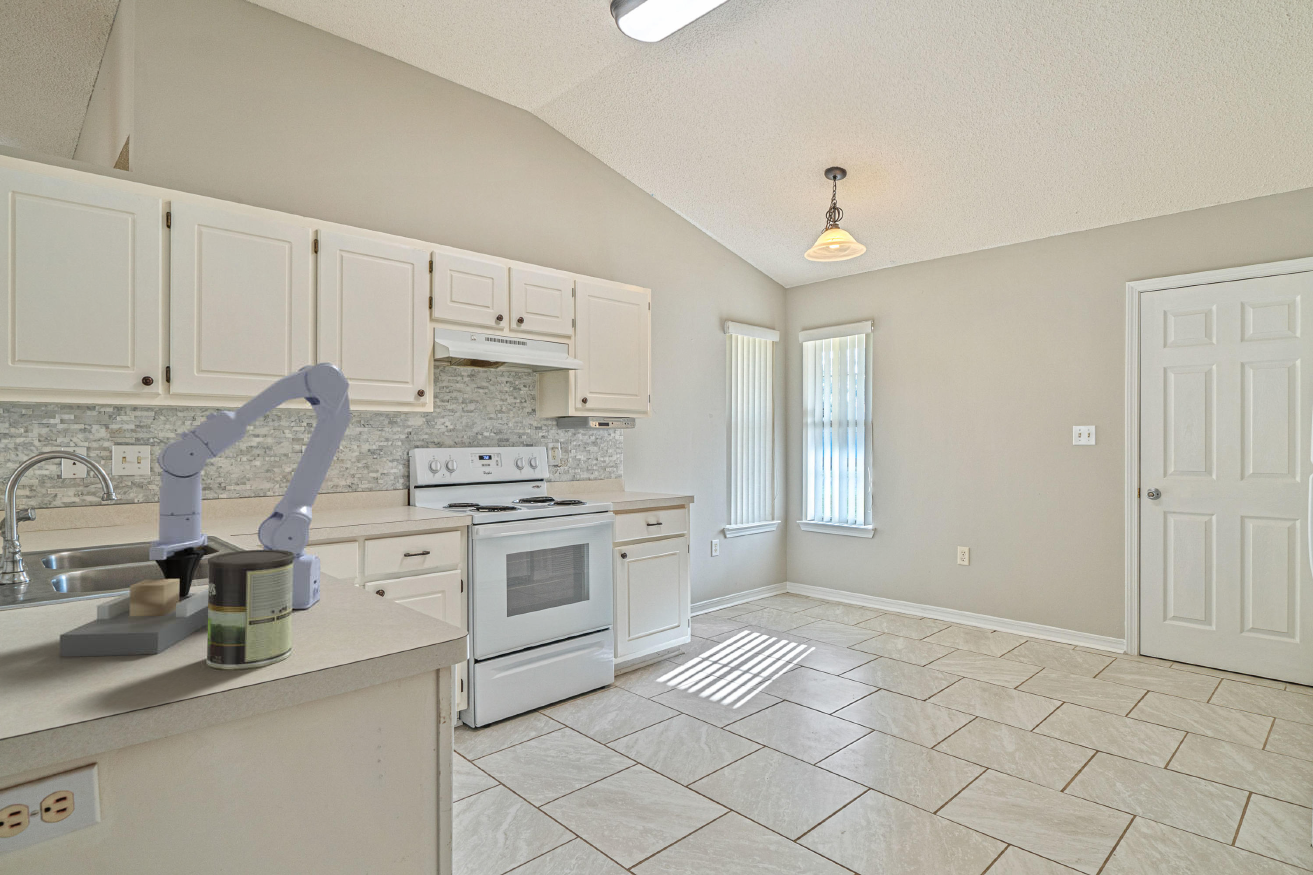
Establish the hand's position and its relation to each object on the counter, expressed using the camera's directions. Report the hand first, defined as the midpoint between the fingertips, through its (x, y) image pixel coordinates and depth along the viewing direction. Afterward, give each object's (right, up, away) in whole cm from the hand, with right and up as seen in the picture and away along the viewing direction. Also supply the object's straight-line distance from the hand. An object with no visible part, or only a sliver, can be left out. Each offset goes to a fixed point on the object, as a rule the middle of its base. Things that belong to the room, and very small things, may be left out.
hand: (179, 596), depth 114 cm
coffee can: (+22, -5, -18) cm, 29 cm away
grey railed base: (+1, -4, -7) cm, 8 cm away
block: (+1, -1, -7) cm, 7 cm away
